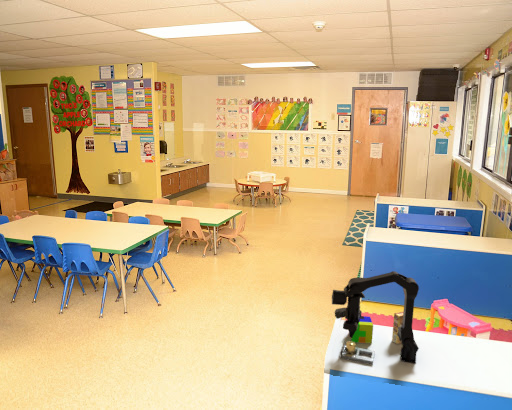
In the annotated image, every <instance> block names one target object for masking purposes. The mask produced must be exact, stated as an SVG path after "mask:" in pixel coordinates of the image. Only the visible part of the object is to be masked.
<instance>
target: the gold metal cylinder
mask: <svg viewBox="0 0 512 410" xmlns="http://www.w3.org/2000/svg"><path fill="white" fill-rule="evenodd" d="M356 343H357V342H352V340H349V341H346V351H345V354H350V355H355V356H356V353H355V347H356V345H357V344H356Z"/></svg>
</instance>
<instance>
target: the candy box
mask: <svg viewBox="0 0 512 410" xmlns="http://www.w3.org/2000/svg"><path fill="white" fill-rule="evenodd" d="M403 312H404V311H400V312H395V313H394V314H393V322H392V323H393V325H392V326H393V327H392V336H391V341H392V342H393V343H395V344H397V345H398V344H402V343H401V341H400V339H399V337H398V335H397V333H398V327H401V326H402V324H403Z"/></svg>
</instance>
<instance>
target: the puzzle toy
mask: <svg viewBox="0 0 512 410" xmlns="http://www.w3.org/2000/svg"><path fill="white" fill-rule="evenodd" d="M359 319H360V322H359V324H358V328H357V331H355V333H354V335H353V337H352V338H351V337H350V339H351V340H350V341H352V342H355V343H357V342H358V343H360V344H361V343H362V344H373V334H374V333H373V331H374V324H373V321H372V319H371V316H365V315H361V317H359Z"/></svg>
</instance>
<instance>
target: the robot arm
mask: <svg viewBox="0 0 512 410" xmlns="http://www.w3.org/2000/svg"><path fill="white" fill-rule="evenodd" d="M391 283H395V284H397V285H399V287H401V288H402V290H403V295H404V300H403V301H404V303H403V311H402V312H403V324H402V326H401V327H398V333H397V335H398V337H399V339H400V341H401V343H400V344H401V345H402V346H401V347H400V348H401V349H400V360H401V362H404V363H405V362H407V363H410V364H416V363H417V352H418V351H419V349H420V347H418V346H419V345H418V344H417V342H416V340H415V337H414V331H413V323H414V322H413V320H414V309H415V300H416V298H417V296H418V294H419V290H420V287H419V284H418V283H417V281H416V280H415V278H412V277H407V276H405V275H404V274H402V273H401V274H400V273H399V272H397V271H394V270H393V271H391V272H387V273H386V272H385V273H382V274H379V275H373V276H370V277H369V276H368V277H353V278H350V279H349V280H348V281H347V284H346V286H345V287H344V288H343V290H338V289H333V290H332V294H331V305H337V306H345V305H346V304H347V305H346V307H339V308H336V309H335V310H334V317H335V319H336V320H338V319H342V318H345V319H346V320H344V322H343V324H342V329H343V330H346V331H348V335H349V338H350V339H351V338H352V337H353V335H354V333H355V331H357V328H358V324H359V322H360V319H359V317H361V316H362V310H361V299H366V296H365V294H364V292H365V291H366V290H368V289H371V288H374V287H379V286H382V285H388V284H391Z"/></svg>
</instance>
